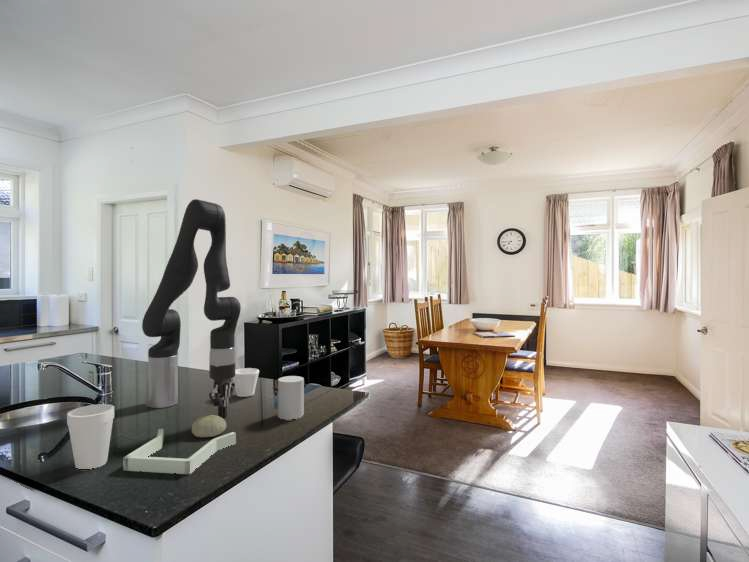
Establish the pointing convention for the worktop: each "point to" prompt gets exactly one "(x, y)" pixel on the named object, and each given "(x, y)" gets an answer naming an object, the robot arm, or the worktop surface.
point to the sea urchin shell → (208, 426)
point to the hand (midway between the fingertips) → (222, 418)
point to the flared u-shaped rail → (173, 465)
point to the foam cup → (90, 434)
